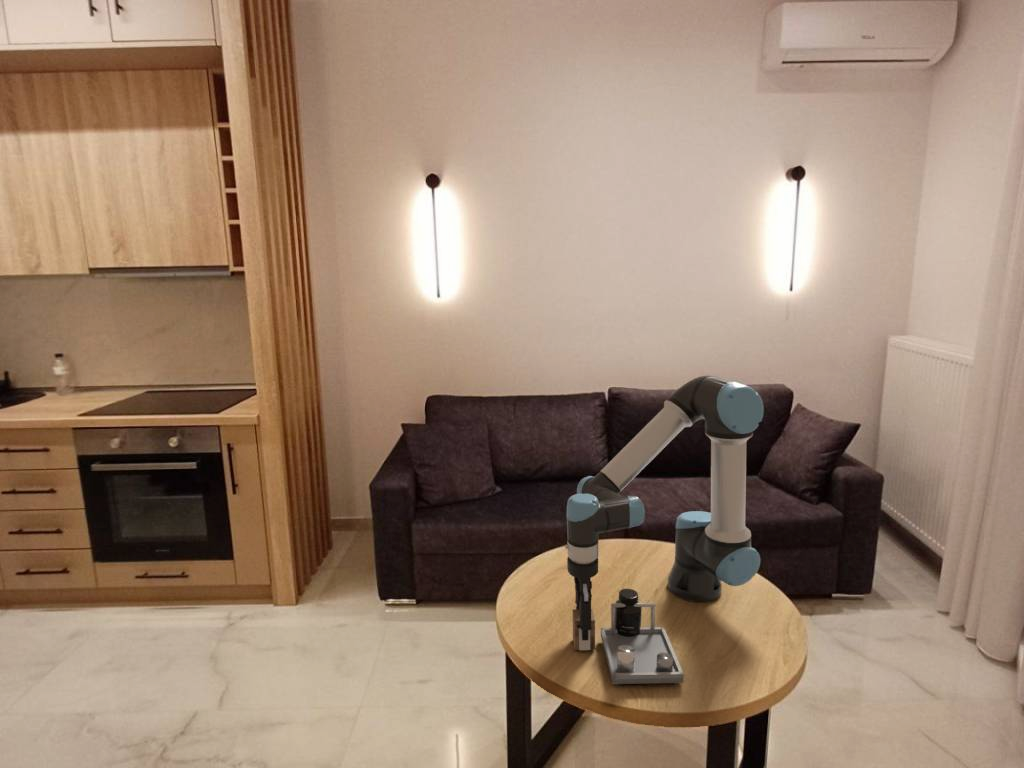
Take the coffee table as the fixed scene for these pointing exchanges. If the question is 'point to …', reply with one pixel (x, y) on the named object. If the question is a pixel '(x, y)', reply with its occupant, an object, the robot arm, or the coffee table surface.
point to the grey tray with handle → (640, 652)
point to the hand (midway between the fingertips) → (583, 642)
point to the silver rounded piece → (625, 659)
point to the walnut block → (576, 630)
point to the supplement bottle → (628, 614)
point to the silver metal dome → (664, 662)
